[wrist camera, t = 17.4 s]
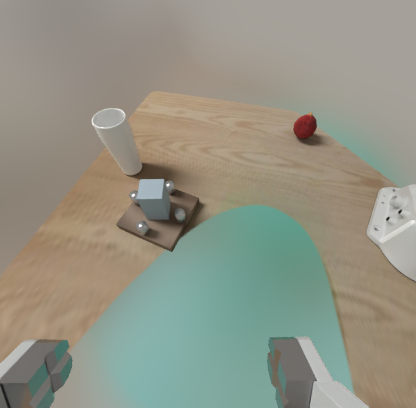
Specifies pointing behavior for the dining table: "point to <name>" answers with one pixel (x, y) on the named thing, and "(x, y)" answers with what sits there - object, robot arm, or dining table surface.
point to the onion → (305, 126)
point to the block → (154, 199)
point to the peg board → (160, 229)
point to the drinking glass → (118, 139)
